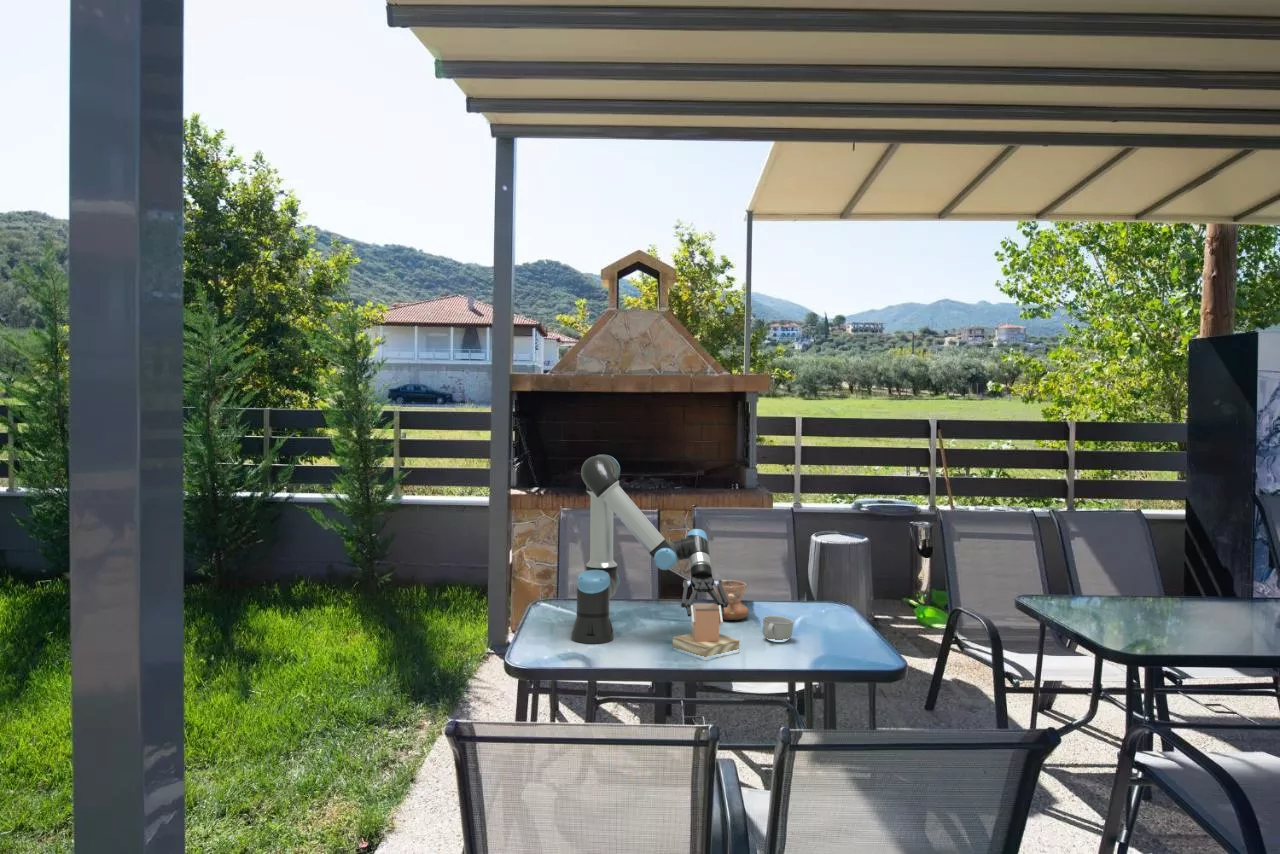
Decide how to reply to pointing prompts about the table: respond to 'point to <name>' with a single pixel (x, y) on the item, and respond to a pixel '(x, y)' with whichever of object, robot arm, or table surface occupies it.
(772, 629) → the teacup
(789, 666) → the table surface
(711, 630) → the pink square box
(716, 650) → the birch box
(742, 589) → the ceramic jug
